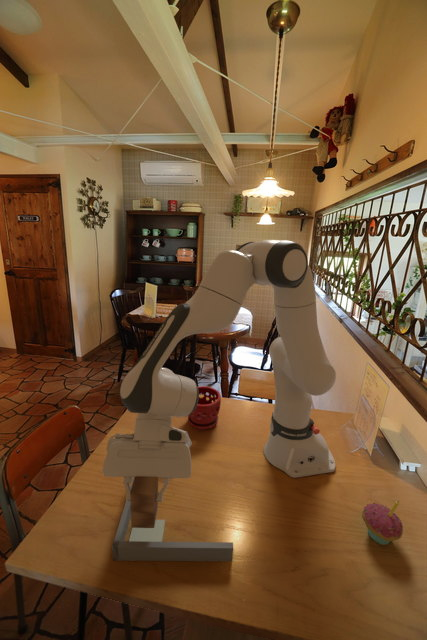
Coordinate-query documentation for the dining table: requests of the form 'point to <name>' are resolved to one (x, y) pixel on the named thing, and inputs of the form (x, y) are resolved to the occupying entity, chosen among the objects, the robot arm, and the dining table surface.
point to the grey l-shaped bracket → (163, 544)
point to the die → (188, 437)
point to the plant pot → (206, 409)
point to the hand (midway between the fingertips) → (144, 501)
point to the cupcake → (382, 523)
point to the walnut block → (143, 502)
